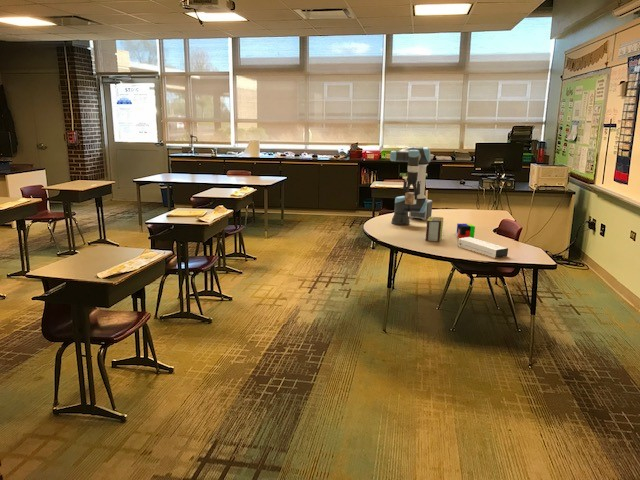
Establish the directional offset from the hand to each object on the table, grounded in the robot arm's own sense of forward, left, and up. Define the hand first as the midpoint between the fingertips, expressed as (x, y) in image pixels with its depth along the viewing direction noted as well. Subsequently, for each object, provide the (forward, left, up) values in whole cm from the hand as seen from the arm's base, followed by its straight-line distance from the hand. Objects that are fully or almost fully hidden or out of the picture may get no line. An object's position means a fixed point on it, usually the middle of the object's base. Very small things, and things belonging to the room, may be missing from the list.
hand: (410, 203), depth 365 cm
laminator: (+54, +8, -27) cm, 61 cm away
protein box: (+13, +14, -27) cm, 33 cm away
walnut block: (0, 0, 0) cm, 0 cm away
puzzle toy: (+27, +36, -27) cm, 53 cm away
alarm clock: (-35, +72, -27) cm, 85 cm away
